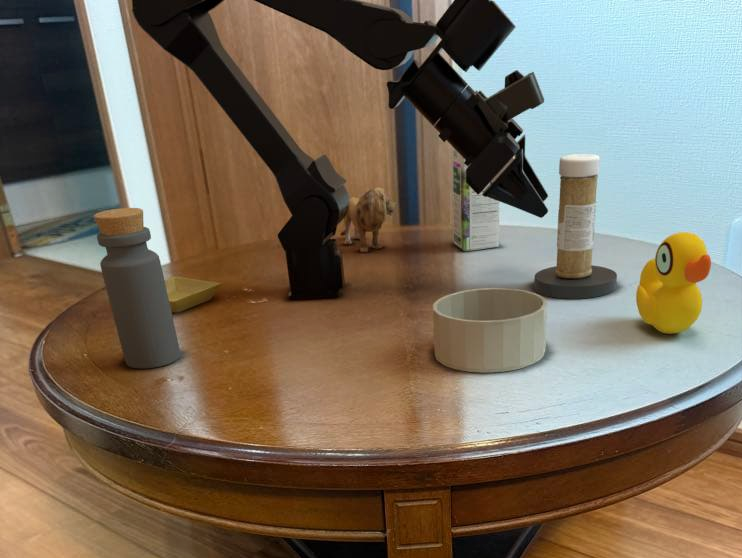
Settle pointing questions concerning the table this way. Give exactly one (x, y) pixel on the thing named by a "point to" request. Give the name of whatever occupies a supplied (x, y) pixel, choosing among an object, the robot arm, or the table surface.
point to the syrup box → (472, 212)
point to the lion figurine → (367, 216)
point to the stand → (575, 284)
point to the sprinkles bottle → (576, 214)
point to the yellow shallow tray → (189, 292)
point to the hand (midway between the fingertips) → (545, 206)
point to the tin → (490, 329)
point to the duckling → (673, 283)
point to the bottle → (136, 290)
